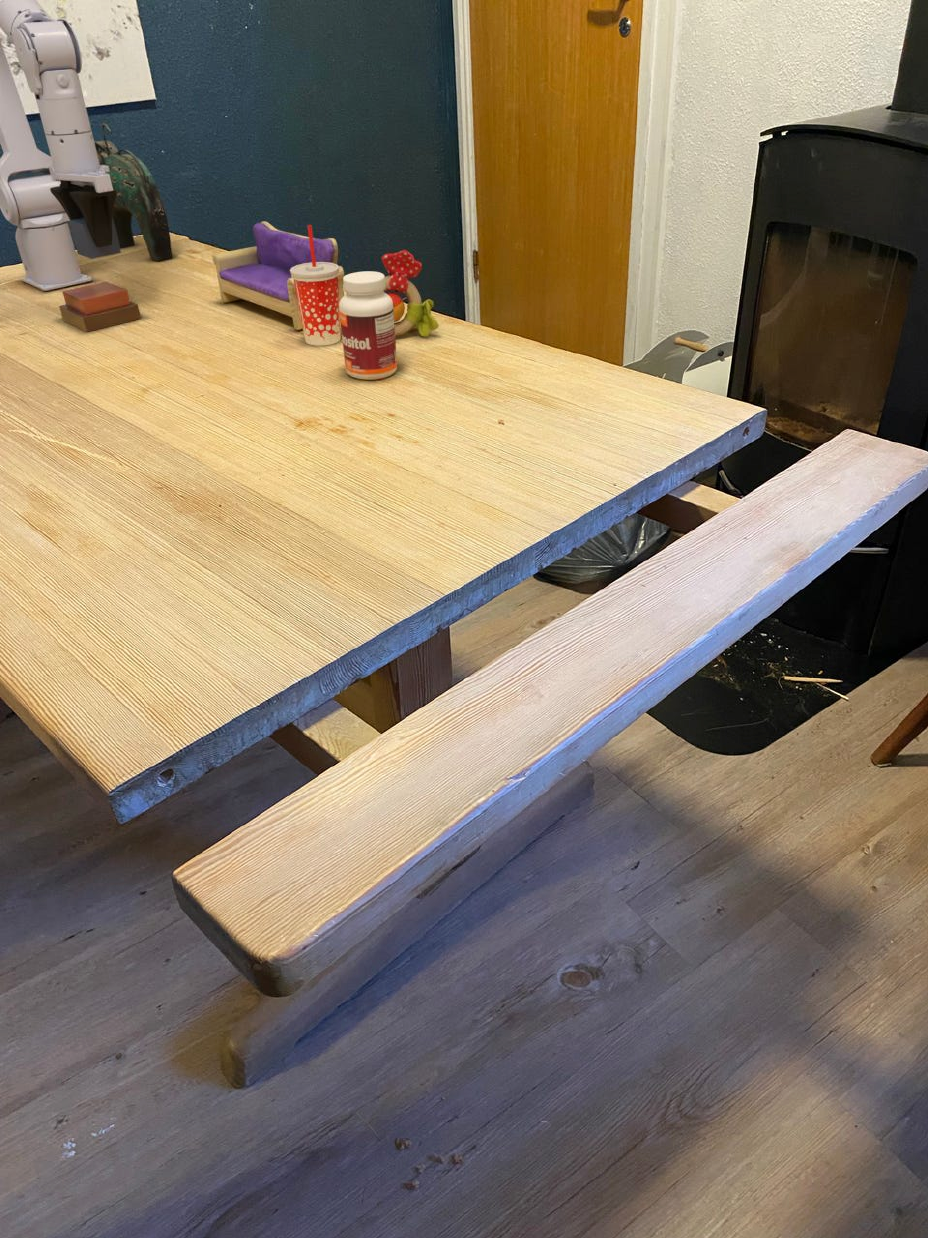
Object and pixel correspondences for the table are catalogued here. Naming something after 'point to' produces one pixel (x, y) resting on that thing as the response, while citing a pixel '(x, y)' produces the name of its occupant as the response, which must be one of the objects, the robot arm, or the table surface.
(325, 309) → the beverage cup
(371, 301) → the pill bottle
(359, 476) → the table surface
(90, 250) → the cube
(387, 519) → the table surface
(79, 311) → the stack
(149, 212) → the green animal figurine
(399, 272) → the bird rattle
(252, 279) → the toy sofa
